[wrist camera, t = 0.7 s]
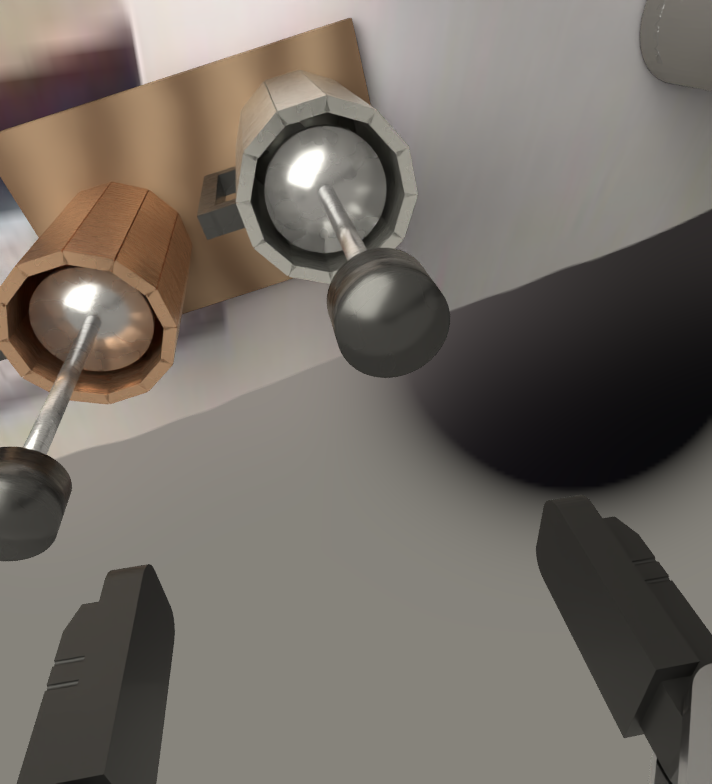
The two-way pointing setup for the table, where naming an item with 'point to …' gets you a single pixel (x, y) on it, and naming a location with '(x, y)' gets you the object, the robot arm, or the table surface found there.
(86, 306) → the black knob plunger
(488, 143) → the table surface
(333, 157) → the steel plunger
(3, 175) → the board
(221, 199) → the steel carafe
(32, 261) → the copper carafe
